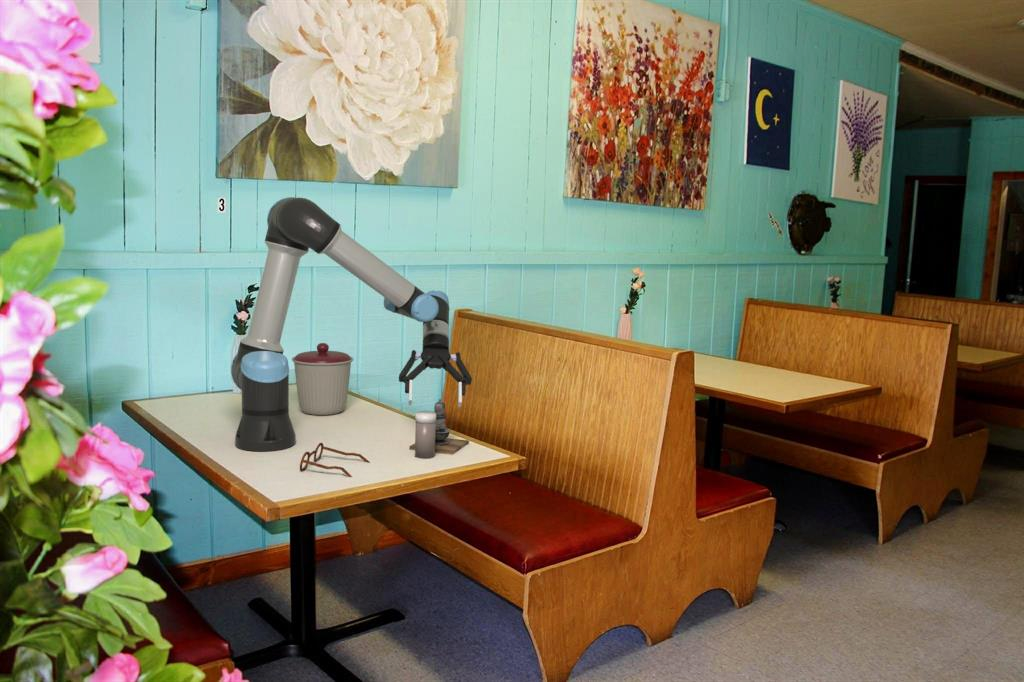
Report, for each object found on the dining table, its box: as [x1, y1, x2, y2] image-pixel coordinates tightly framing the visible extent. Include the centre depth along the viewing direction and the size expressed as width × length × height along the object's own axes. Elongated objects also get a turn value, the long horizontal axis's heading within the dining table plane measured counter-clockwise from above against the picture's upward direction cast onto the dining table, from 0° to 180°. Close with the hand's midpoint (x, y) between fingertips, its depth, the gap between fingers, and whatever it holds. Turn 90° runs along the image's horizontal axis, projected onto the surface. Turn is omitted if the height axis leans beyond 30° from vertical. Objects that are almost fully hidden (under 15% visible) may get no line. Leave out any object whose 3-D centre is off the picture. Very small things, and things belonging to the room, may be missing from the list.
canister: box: [291, 342, 354, 416], centre depth 267 cm, size 18×18×21 cm
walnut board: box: [408, 437, 470, 455], centre depth 233 cm, size 12×12×1 cm
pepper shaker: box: [414, 410, 436, 460], centre depth 223 cm, size 5×5×11 cm
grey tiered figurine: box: [433, 398, 452, 446], centre depth 233 cm, size 6×6×12 cm
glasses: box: [299, 442, 371, 478], centre depth 211 cm, size 13×13×5 cm
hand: (435, 403), depth 243 cm, fingers open, 13 cm apart
